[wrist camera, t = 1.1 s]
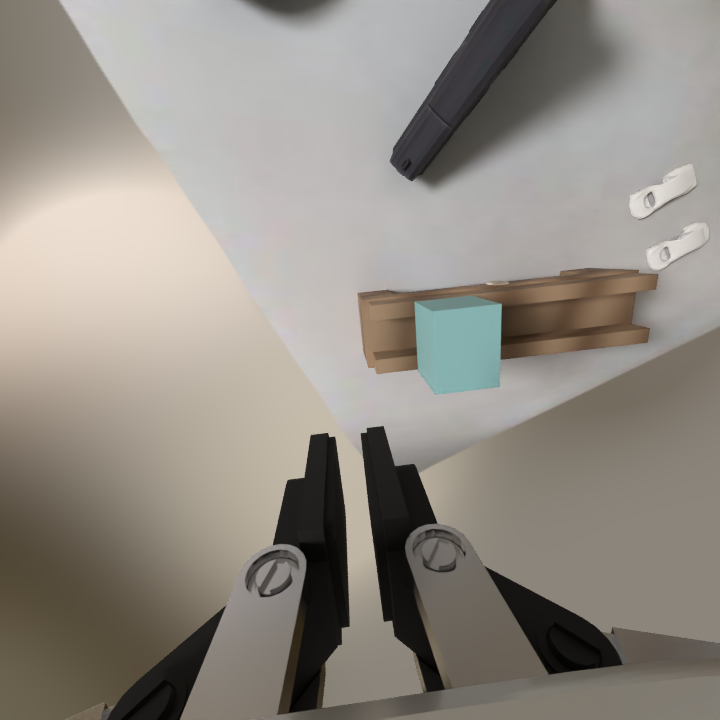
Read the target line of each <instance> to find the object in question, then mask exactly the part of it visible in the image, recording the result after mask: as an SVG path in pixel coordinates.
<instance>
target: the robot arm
mask: <svg viewBox="0 0 720 720" xmlns="http://www.w3.org/2000/svg"><path fill="white" fill-rule="evenodd" d="M361 441H362V450H363V459H364V468H365V476H366V485H367V495H368V503H369V512H370V520H371V528H372V535H373V543H374V551H375V558H376V565H377V573H378V581H379V589H380V596H381V604H382V611H383V619H384V622H386V621H393V628H394V635H395V637H397V639H398V640H400V641H401V642H402V643H403V644H405V645H406V646H407V647H409V648H410V649H411V650H412V651H413V655H414V662H415V665H416V669H417V672H418V676H419V680H420V683H421V687H422V690H423V693H421V694H414V695H408V696H401V697H394V698H387V699H381V700H374V701H367V702H361V703H355V704H348V705H341V706H334V707H328V708H322V705H323V696H324V686H325V676H326V667H325V662H326V661H327V659H328V658H329V657H330V655H331V654H332V653H333V652H334V650H335V649H336V648H337V647H338V645H342V629H341V628H344V627H349V626H350V625H349V622H350V621H349V593H348V567H347V539H346V516H345V505H344V498H343V490H342V483H341V475H340V468H339V461H338V453H337V446H336V439H335V437H329V435H328V433H324V434H316V435H311V437H310V445H309V451H308V457H307V464H306V471H305V478H300V479H291V480H288V481H287V484H286V488H285V492H284V497H283V502H282V506H281V511H280V515H279V519H278V524H277V529H276V533H275V538H274V542H273V546H270V547H267V548H265V549H263V550H261V551H259V552H258V553H256V554H255V555H253V556H252V557H251V558H250V559H249V560H248V561H247V562H246V564H245V565H244V566H243V568H242V570H241V572H240V573H239V576H238V578H237V581H236V583H235V586H234V588H233V591H232V593H231V595H230V598H229V600H228V603H227V605H226V606H225V607H224V608H223V609H221V610H220V611H219V612H218V613H217V614H216V615H214V616H213V617H212V618H211V619H210V620H209V621H207V622H206V623H205V624H204V625H203V626H201V627H200V628H199V629H198V630H197V631H196V632H194V634H192V635H191V636H190V637H188V638H187V639H186V640H185V641H184V642H183V643H181V644H180V645H179V646H178V647H177V648H176V649H174V650H173V651H172V652H171V653H170V654H169V655H167V656H166V657H165V658H164V659H163V660H161V661H160V662H159V663H158V664H157V665H156V666H154V667H153V668H152V669H151V670H150V671H149V672H147V673H146V674H145V675H144V676H143V677H141V678H140V679H139V680H138V681H137V682H136V683H135V684H134V685H133V686H132V687H131V688H130V689H129V690H128V691H127V692H126V693H125V694H124V695H123V696H122V697H121V699H120V700H119V702H118V703H117V704H116V705H114V706H112V707H110V708H108V706H107V703H106V702H104V703H102V704H100V705H97V706H95V707H93V708H91V709H89V710H86V711H84V712H82V713H79V714H77V715H75V716H73V717H70V718H68V719H66V720H720V643H714V642H707V641H701V640H694V639H687V638H681V637H674V636H667V635H661V634H654V633H648V632H641V631H633V630H627V629H621V628H614V627H612V631H611V634H610V633H604V632H601V631H600V630H598V629H597V628H596V627H595V626H594V625H593V624H591V623H589V622H588V621H586V620H585V619H583V618H582V617H580V616H578V615H576V614H574V613H572V612H570V611H569V610H567V609H565V608H563V607H561V606H559V605H557V604H555V603H553V602H552V601H550V600H548V599H546V598H544V597H542V596H540V595H538V594H536V593H534V592H533V591H531V590H529V589H527V588H525V587H523V586H521V585H519V584H517V583H515V582H513V581H511V580H510V579H508V578H506V577H504V576H502V575H500V574H498V573H496V572H494V571H493V570H491V569H489V568H487V567H485V566H484V565H483V563H482V562H481V560H480V558H479V557H478V555H477V553H476V551H475V550H474V548H473V546H472V545H471V543H470V542H469V540H468V539H467V538H466V537H465V536H464V534H462V533H461V532H459V531H458V530H456V529H455V528H452V527H450V526H447V525H441V524H437V521H436V518H435V516H434V513H433V510H432V508H431V505H430V503H429V500H428V497H427V495H426V492H425V489H424V487H423V484H422V482H421V479H420V476H419V474H418V471H417V468H416V466H415V465H414V464H410V465H402V466H395V465H394V461H393V458H392V454H391V451H390V447H389V444H388V440H387V437H386V433H385V430H384V426H381V427H373V428H367V433H361Z"/></svg>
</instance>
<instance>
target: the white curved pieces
mask: <svg viewBox="0 0 720 720" xmlns="http://www.w3.org/2000/svg"><path fill="white" fill-rule="evenodd" d="M662 179H663V184H660V185H652V186H649V187H646V188H644V189H642V190H639V191H637V193H634V194H632V195H631V196H630V204H629V206H630V211H631V213H632V215H633V216H634V217H635V218H636V219H637V220H639V219H642V218H645V217H647V216H649V215H650V214H651V213H652V212H653V211H655V210H657V209H658V208H660V207H661V206H662V205H664V204H665V203H666V202H668V201H669V200H672V199H674V198H676V197H679V196H682V195H684V194H686V193H688V192H689V191H690V190H691V189H692V188H694V187H695V186H696V185H697V182H696V177H695V173H694V169H693V166H692V164H688V165H685V166H679V167H677V168H676V169H675V170H672V171H671V172H670V173H669V174H667V175H666V176H664V178H662ZM650 192H652V194H653V196H654V200H655V205H654V206H653V207H651V205H650V203H649V201H648V197H647V194H648V193H650ZM683 231H684V233H683V234H680V235H677V236H679V238H678V240H673V241H665V242H661V243H658V244H659V245H658V244H655V245H654V246H653V247H650V248H649V249H647V252H646V253H647V257H646V259H647V263H648V265H649V267H650V268H651V269H652V271H658V270H661V269H663V268H665V267H666V266H667V265H668V264H670V263H671V262H673V261H675V260H677V259H678V258H680V257H681V256H683V255H685V254H686V253H688V252H690V251H693V250H695V249H698V248H700V247H702V246H703V245H704V244H705V243H706V241H707V240H708V239H709V228H708V226H707V225H706V224H705V223H698V222H694V223H691V225H689V226H686V227H685V228H684V229H683ZM674 237H676V236H674ZM672 238H673V237H672ZM670 239H671V238H670ZM668 240H669V239H668ZM665 247H667V248H668V249H669V253H670V259H669V260H668V261H667V256H666V253H665V249H664V248H665Z"/></svg>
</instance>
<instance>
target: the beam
mask: <svg viewBox="0 0 720 720" xmlns="http://www.w3.org/2000/svg"><path fill="white" fill-rule="evenodd" d="M638 272H639V270H624V269H597V268H586V269H577V270H568V271H561V272H560V276H554V277H545V278H536V279H527V280H517V281H508V282H503V281H494V282H486V284H480V285H471V286H462V287H453V288H444V289H434V290H425V291H416V292H407V293H398V294H393V293H391V292H390V291H388V290H382V291H373V292H364V293H358V302H359V312H360V322H361V332H362V342H363V351H364V354H365V358H366V361H367V364H368V368H373V367H375V370H376V372H377V374H382V373H390V372H399V371H407V370H416V369H418V361H417V342H416V322H415V303H414V302H416V301H426V300H435V299H444V298H453V297H462V296H475V297H478V298H482V299H486V300H489V301H493V302H497V303H500V304H502V311H501V353H500V360H502V359H510V358H519V357H527V356H536V355H544V354H553V353H561V352H570V351H579V350H587V349H596V348H604V347H613V346H621V345H630V344H639V343H647V342H648V337H649V331H650V328H645V327H641V326H636V325H632V324H631V322H632V315H633V308H634V301H635V294H636V292H639V291H647V290H656V286H657V279H658V274H642V273H638Z"/></svg>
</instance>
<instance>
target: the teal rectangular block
mask: <svg viewBox="0 0 720 720" xmlns="http://www.w3.org/2000/svg"><path fill="white" fill-rule="evenodd" d="M414 303H415V322H416V342H417V361H418V372H419V373H420V374H421V376H422V377H423V378H424V380H425V381H426V383H427V384H428V385H429V387H430V388H431V389H432V391H433V392H434V394H435V395H437V394H445V393H454V392H462V391H470V390H479V389H487V388H496V387H500V353H501V311H502V304H500V303H497V302H493V301H489V300H486V299H482V298H478V297H475V296H462V297H453V298H444V299H435V300H426V301H416V302H414Z"/></svg>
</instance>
